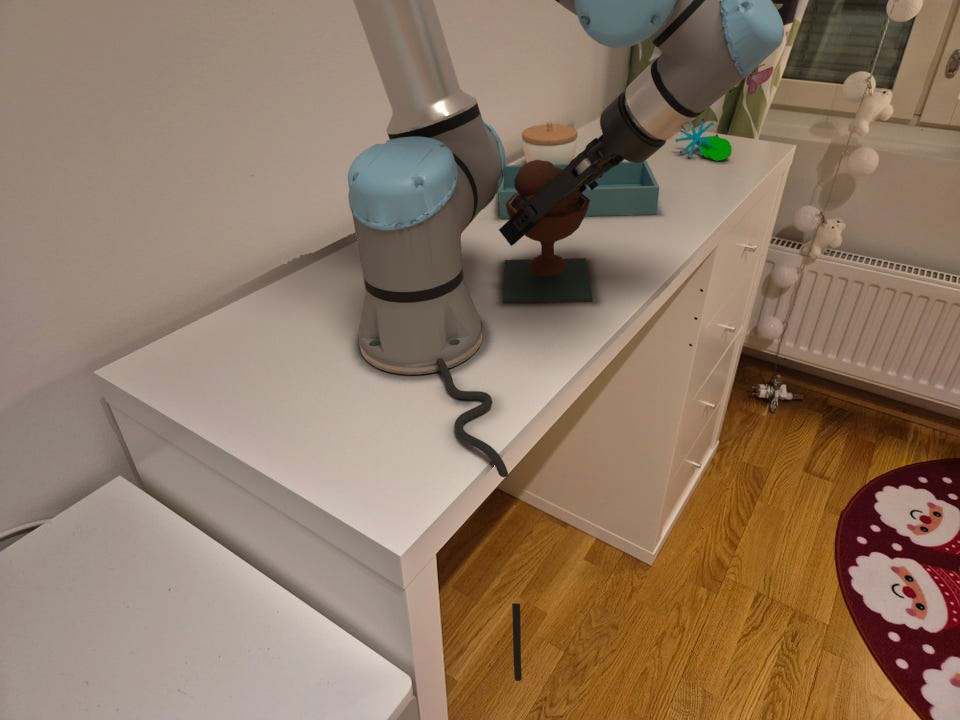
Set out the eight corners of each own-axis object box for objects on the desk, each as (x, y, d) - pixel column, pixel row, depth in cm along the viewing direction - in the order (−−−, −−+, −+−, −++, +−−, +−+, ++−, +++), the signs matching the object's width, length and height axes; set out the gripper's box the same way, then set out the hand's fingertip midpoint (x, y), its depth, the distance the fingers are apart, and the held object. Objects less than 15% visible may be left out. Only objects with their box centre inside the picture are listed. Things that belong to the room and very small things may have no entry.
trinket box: (513, 176, 130) (512, 128, 125) (535, 160, 138) (535, 113, 132) (564, 182, 126) (565, 132, 120) (583, 165, 133) (585, 117, 128)
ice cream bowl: (562, 292, 86) (563, 179, 77) (493, 272, 91) (487, 165, 83) (601, 261, 92) (607, 154, 84) (535, 244, 98) (534, 143, 90)
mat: (592, 301, 88) (592, 297, 88) (503, 303, 89) (503, 299, 88) (585, 261, 98) (585, 257, 97) (505, 263, 99) (504, 259, 98)
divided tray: (656, 214, 111) (659, 186, 108) (499, 218, 113) (499, 191, 110) (644, 186, 122) (646, 160, 119) (501, 190, 124) (501, 165, 121)
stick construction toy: (666, 144, 135) (689, 109, 133) (673, 155, 141) (695, 122, 139) (717, 170, 130) (741, 135, 128) (721, 180, 136) (745, 147, 134)
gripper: (622, 173, 66) (499, 277, 82) (703, 117, 81) (585, 214, 98) (576, 113, 65) (462, 230, 82) (666, 68, 81) (554, 174, 97)
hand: (529, 221), depth 90 cm, fingers closed on ice cream bowl, 11 cm apart
